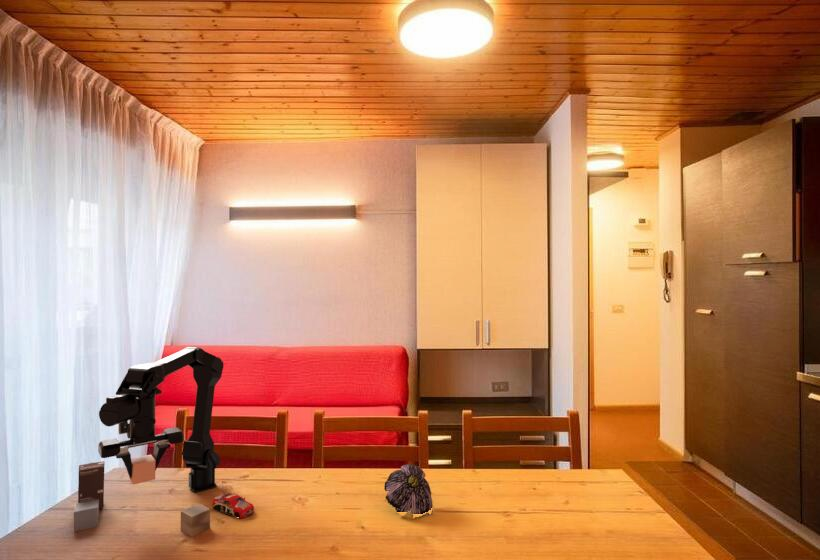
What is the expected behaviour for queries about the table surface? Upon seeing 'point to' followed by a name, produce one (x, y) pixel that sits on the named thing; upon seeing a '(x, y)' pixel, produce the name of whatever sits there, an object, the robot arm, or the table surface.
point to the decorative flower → (409, 490)
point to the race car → (232, 505)
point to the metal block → (195, 519)
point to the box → (91, 483)
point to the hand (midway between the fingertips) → (142, 474)
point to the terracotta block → (143, 469)
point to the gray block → (86, 515)
